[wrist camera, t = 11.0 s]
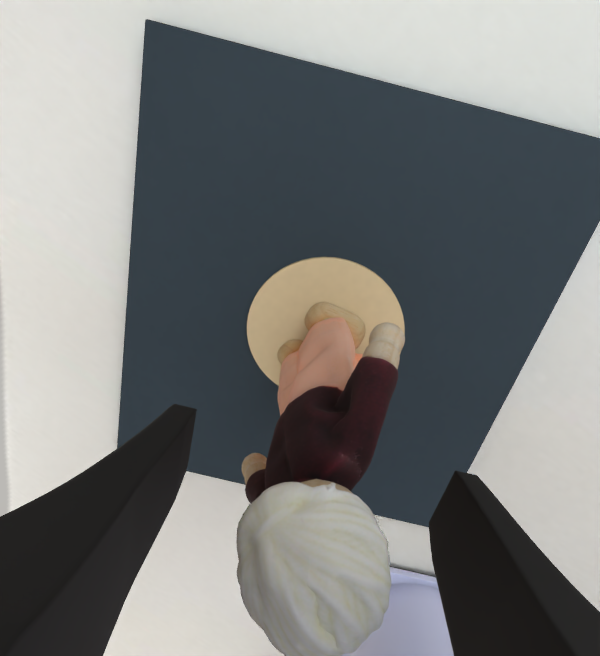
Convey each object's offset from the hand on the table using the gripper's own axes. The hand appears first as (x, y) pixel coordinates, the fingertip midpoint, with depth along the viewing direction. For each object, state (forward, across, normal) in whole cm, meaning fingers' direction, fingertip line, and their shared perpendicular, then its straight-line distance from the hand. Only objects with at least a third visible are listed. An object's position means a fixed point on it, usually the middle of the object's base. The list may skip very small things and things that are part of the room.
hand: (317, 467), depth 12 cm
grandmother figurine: (+8, 0, 0) cm, 9 cm away
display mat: (+9, 0, 0) cm, 9 cm away
